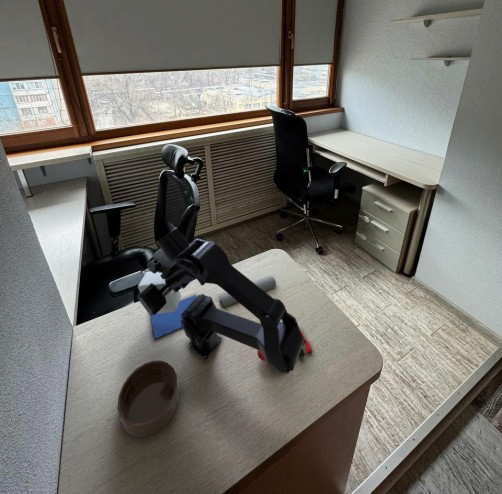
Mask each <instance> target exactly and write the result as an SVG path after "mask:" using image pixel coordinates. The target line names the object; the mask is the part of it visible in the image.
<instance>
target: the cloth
mask: <svg viewBox="0 0 502 494" xmlns="http://www.w3.org/2000/svg"><path fill="white" fill-rule="evenodd" d="M196 297H197V296H196V295H195V294H194V295H192V296H189V297H187V298H185V299H182V300H180V301H179V303H178V306H177V309H176V312H169V313H159V314H155V315H150V318H151V324H152V330H153V337H154V340H158V339H159V338H161V337H163V336H166V335H168V334H170V333H172V332H175V331H177V330H179V329H183V327H182V324H181V320H182V318H181V314H182V312H183V311H184V310H185V309H186V308H187V307H188V306H189V305H190V304H191V302H192V301H193V300H194V299H195V298H196Z"/></svg>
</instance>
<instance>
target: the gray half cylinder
mask: <svg viewBox="0 0 502 494" xmlns="http://www.w3.org/2000/svg"><path fill="white" fill-rule="evenodd" d="M254 283H255V284H256V285H257V286H258V287H260V288H261V289H262V290H263V291H265V292H267V291H269V290H272V289H274V288H276V287H277V281H276V279H275V277H274V276H270V277H267V278H264V279H261V280H258V281H256V282H254ZM219 300H220V302H221V304H222V307H229V306H232V305H234V304H236V303H239V302H238V301H236V300H235V299H234V298H233V297H232V296H230V295H229V294H228V293H227V292H226V293H225V294H222V295H220V296H219Z"/></svg>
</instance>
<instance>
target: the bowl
mask: <svg viewBox="0 0 502 494" xmlns="http://www.w3.org/2000/svg"><path fill="white" fill-rule="evenodd" d="M179 399H180V385H179V380H178V374H177V373H176V371H175V368H174V366H172V365H171V364H170V363H169V362H167V361H164V360H161V359H159V360H158V359H157V360H151V361H147V362H144V363H143V364H141V365H139V366H137V367H136V368H135V369H134V370H133V371H132V372H131V373H130V374H129V375H128V376H127V378H126V379H125V381H124V383H123V384H122V386H121V388H120V391H119V394H118V397H117V412H118V416H119V418H120V422H121V424H122V427H123V429H124V430H125V431H126V432H127V434H128V435H130V436H132V437H135V438H148V437H150V436H153V435H154V434H157V433H159V431H161V429H162V430H163V428H164V427H166V426H167V424H168V423H169V421H170V420H171V419H172V418H173V416H174V414H175V412H176V410H177V407H178V405H179Z"/></svg>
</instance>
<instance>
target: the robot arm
mask: <svg viewBox="0 0 502 494" xmlns="http://www.w3.org/2000/svg"><path fill="white" fill-rule="evenodd" d="M156 244H157V245H158V246H159V249H158V250H156V251H155V252H154V253H152V256H151V257H149V259H148V260H147V269H148V270H149V272H152V273H153V274H156V273H157V272H159V273H162V274H161V275H160V276H161V278H162V279H165V283H166V284H165V285H164V286H163V287H162V288H161V289H159V288H157V287H156V286H155V285H154V284H153V283H151V284H150V285H149V286H147V287H146V288H145V289H144V290H143V291H142V292H141V293H140V292H139V293H138V294H137V300H138V301H139V303H140V304H141V305H142V307H143V308H144V309H145V310H146V312H147V313H148V315H149V316H151V315H155V314H157V313H158V312H159V311H160V310H161V309H162V308H163V307H164V306H165V304H166V303H167V302H166V296H167V295H168V294H169V293H170V292H171V291H172V290H174V292H175V293H177V292H178V291H180V290H181V289H182V290H184V289H186V288H187V286H189V284H190V283H192V282H194V281H195V280H197V282H198V283H199V284H200V286H202V287H203V286H205V284H210V285H216V286H218V287H219V288H221V289H222V290H223V291H224V292H226V294H227V293H228V294H229V295H230V296H232V297H233V298H234V299H235V300H236V301H238V302H237V303H239V304H240V305H241V306H242V307H243V308H245V309H246V311H248V312H250V313H251V314H252V315H253V316H254V317H255V318H257V319H258V320H259V322H257V321H255V320H252V319H249V318H247V317H246V318H245V317H243V316H240V315H237V314H235V313H232V312H229V311H225V310H223V309H220V308H218V307H217V306H216V304H215V302H214V300H213V298H212V296H208V295H206V294H205V293H201V294H198V295H196V296H195V297H196V298H195V299H194V300H193V301H192V302H191V304H190V305H189V306H188V307H187V308H186V309H185V310H184V311H183V312H182V314H181V318H182V320H181V324H182V329H183V331H184V334H185V336H186V337H187V338H189V341H190V342H189V344H188V346H189V347H190V348H191V349H192V350H194V351H195V352H196V353H197V354H198V355H200V357H202V358H203V359H205V360H207V359H208V358H209V357H210V355H211V354H212V353H213V351H215V350H216V348H217V346H218V345H219V344H220V343H221V341H222V337H221V336H223V337H226V338H228V339H231V340H233V341H235V342H237V343H240V344H243V345H245V346H247V347H250V348H252V349H255V350H257V351H258V350H259V351H260V352H261V353H262V355H263V357H264V358H265V360H266V361H265V362H266V363H267V365H269V366H271V367H272V366H273V367H274V368H275V370H277V371H278V372H280V373H285V374H290V373H291V372H292V371H293V370H294V369H295V366H296V364H297V361H298V360H299V358H300V356H299V354H300V352H301V349H303V346H304V345H305V343H304V338H303V336H302V334H301V332H302V331H301V329H300V327H299V323H298V321H297V318H296V316H293V315H292V314H291V313H289V312H288V311H287V309H286V306H285V304H284V303H283V301H282V300H280V299H279V298H276V297H273V296H271V295H270V294H269V293H268V292H267V291H263V290H262V289H261V288H260V287H258V286H257V285H256V284H255V283H256V282H254V281H252V280H251V279H250V278H248V277H247V276H246V275H244V273H242V272H241V271H240V270H239V269H237V268H235V267H234V266H233V264H231V262H230V259H229V258H228V254H227V253H226V252H225V251H224V250H223V249H222V248H221V247H220V246H219V245H218V244H217V243H215V242H213V241H211V240H210V241H208V240H204V239H200V238H196V239H194V240H193V241H192V242H191V243H189V241H188V240H187V239H186V238H185V236H184V235H183V234H182V232H181V231H180V230H179V228H178V227H174V228H173V229H171V230H169V232H167V233H166V234H165V235H163V236H162V237H160V238H159V239H158V240H157V241H156ZM168 287H169V288H168ZM167 288H168V289H167ZM166 289H167V290H166ZM165 290H166V291H165ZM164 291H165V292H164ZM163 292H164V294H163ZM220 335H221V336H220ZM273 367H272V368H273Z"/></svg>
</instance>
